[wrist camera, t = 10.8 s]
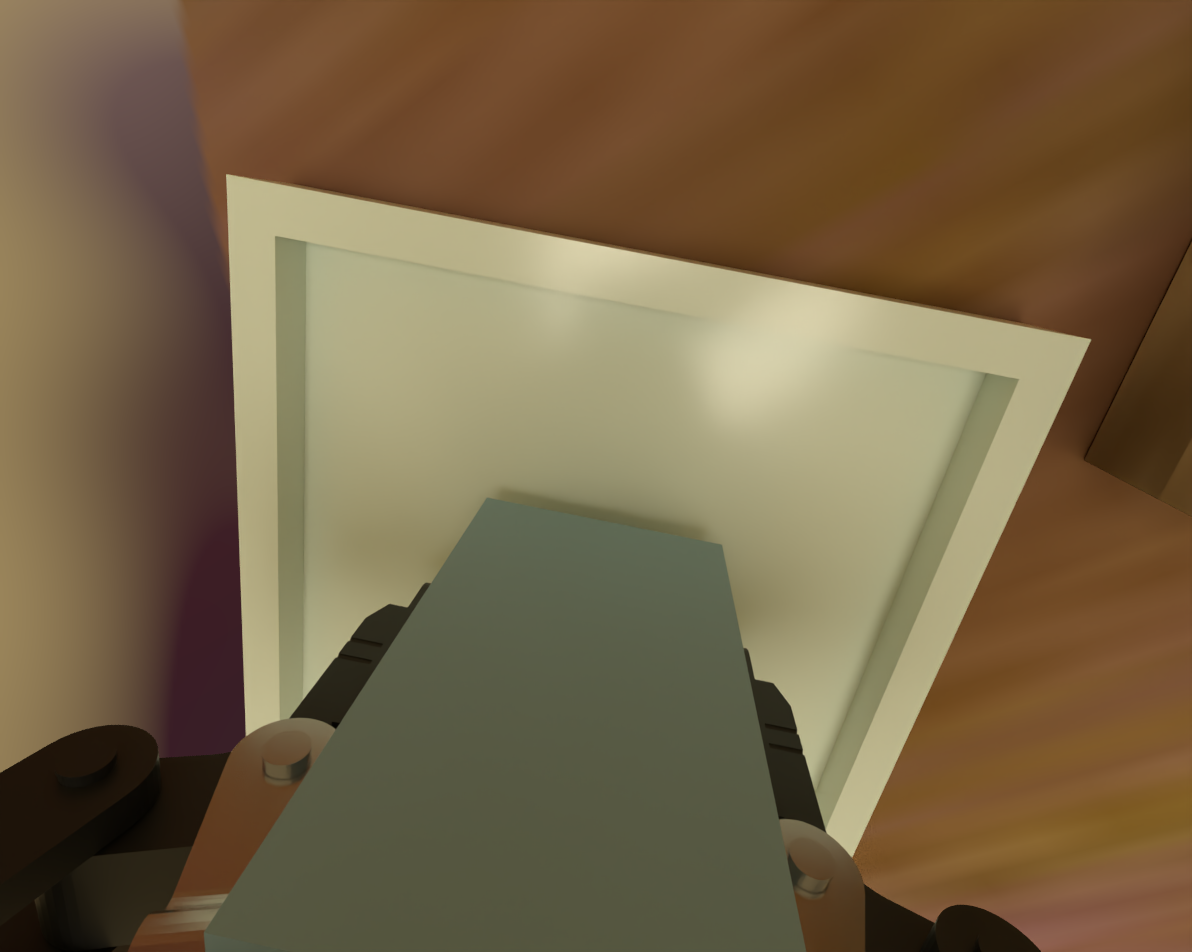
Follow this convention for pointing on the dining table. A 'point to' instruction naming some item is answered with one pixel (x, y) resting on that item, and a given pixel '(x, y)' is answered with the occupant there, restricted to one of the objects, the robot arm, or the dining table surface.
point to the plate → (621, 444)
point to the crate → (1156, 406)
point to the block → (538, 766)
